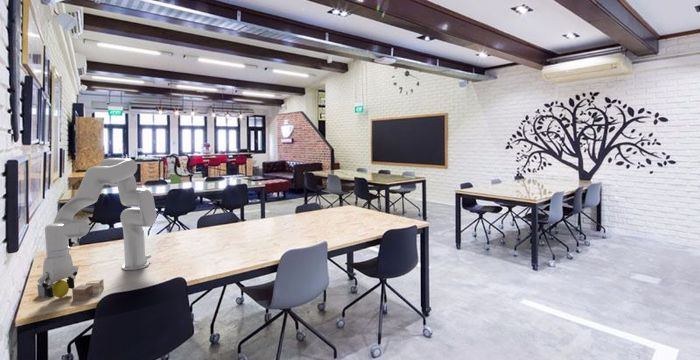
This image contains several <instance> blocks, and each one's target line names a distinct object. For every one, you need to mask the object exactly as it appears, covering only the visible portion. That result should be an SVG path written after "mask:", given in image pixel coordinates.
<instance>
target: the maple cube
mask: <svg viewBox="0 0 700 360" xmlns="http://www.w3.org/2000/svg"><path fill="white" fill-rule="evenodd" d="M85 285H93V295H95V294H101V293H102V291H104V290H105V287H104V286H105V285H104V278H94V279H93V278H92V279H91V278H90V280H88V281H87V282H86V283H85Z"/></svg>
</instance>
